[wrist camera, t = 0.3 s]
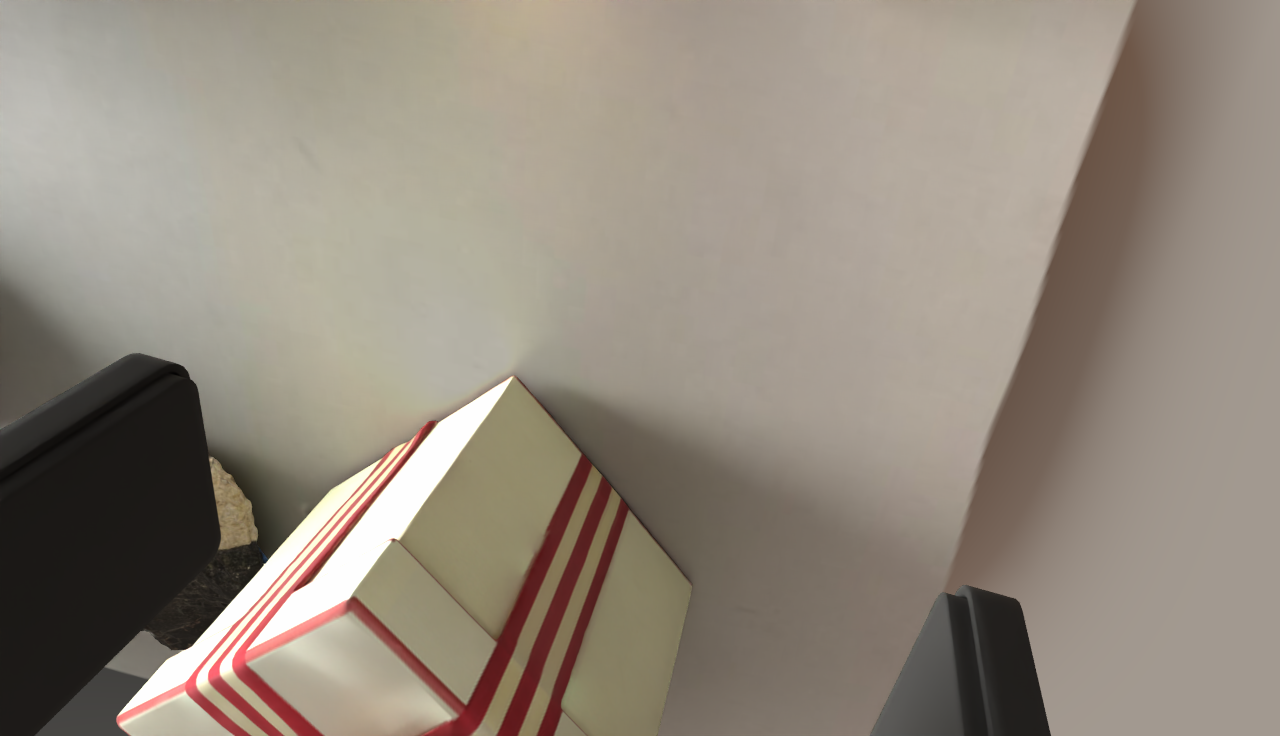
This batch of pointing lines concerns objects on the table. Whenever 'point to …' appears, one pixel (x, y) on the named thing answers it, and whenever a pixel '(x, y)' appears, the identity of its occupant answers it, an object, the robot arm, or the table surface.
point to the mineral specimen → (214, 570)
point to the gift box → (444, 602)
